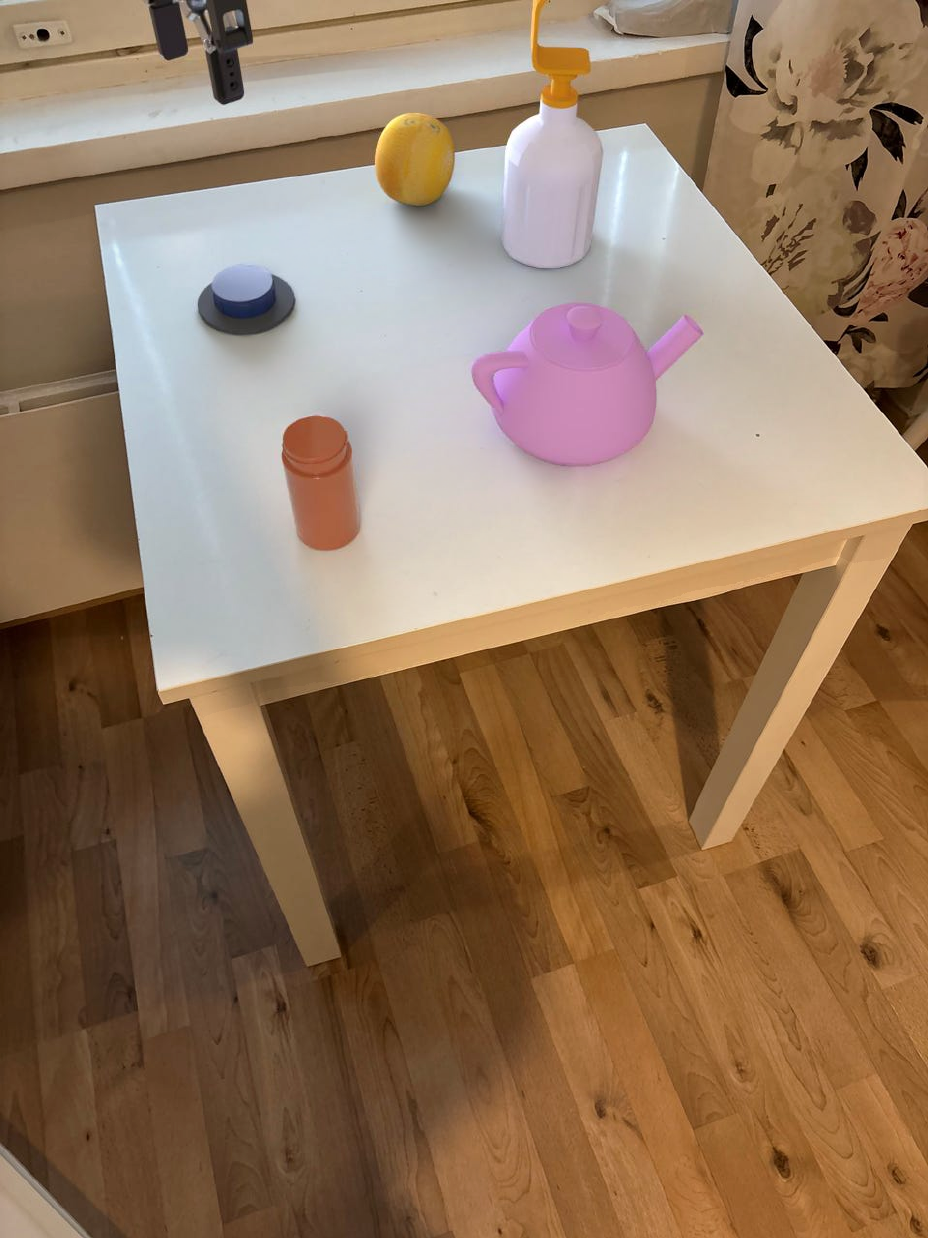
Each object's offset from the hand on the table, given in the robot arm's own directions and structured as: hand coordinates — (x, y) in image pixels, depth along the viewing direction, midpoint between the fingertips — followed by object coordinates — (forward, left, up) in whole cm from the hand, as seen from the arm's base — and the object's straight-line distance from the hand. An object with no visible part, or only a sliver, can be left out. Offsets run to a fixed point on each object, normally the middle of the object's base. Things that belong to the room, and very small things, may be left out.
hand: (201, 77), depth 73 cm
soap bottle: (+30, +6, -21) cm, 37 cm away
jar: (+6, -28, -21) cm, 36 cm away
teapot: (+28, -19, -21) cm, 40 cm away
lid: (0, 0, -19) cm, 19 cm away
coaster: (0, 0, -21) cm, 21 cm away
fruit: (+18, +16, -21) cm, 32 cm away
